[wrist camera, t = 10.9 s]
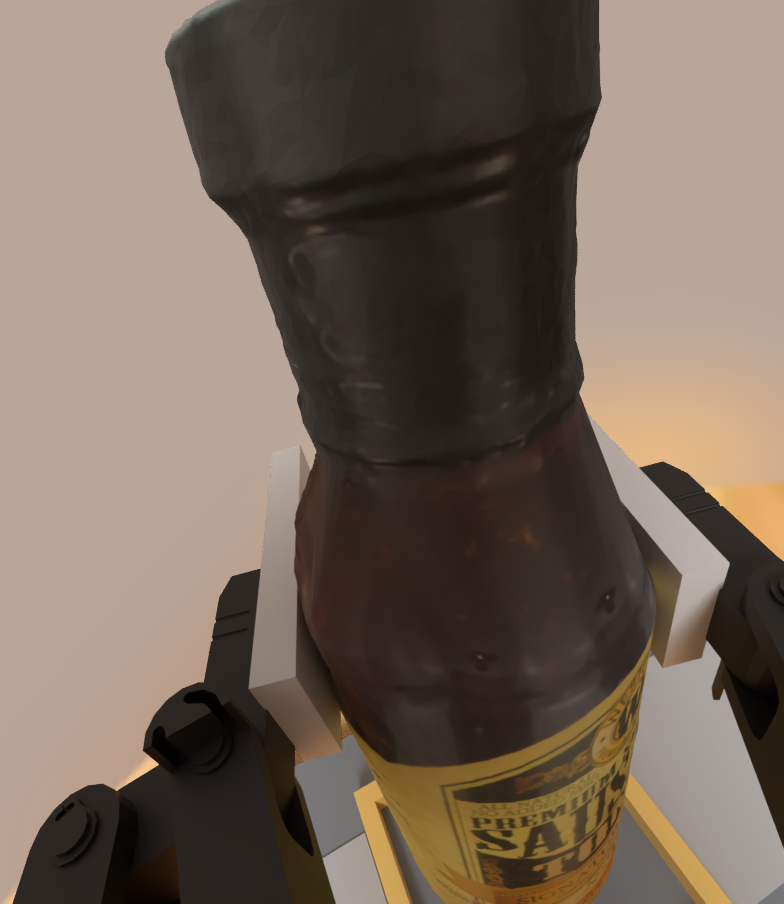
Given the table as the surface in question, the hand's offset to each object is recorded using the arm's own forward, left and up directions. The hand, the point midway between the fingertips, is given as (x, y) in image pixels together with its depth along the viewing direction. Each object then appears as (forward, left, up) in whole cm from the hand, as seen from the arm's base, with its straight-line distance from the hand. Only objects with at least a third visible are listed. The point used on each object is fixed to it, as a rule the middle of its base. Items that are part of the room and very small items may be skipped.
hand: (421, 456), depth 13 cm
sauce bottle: (+1, +5, -11) cm, 12 cm away
